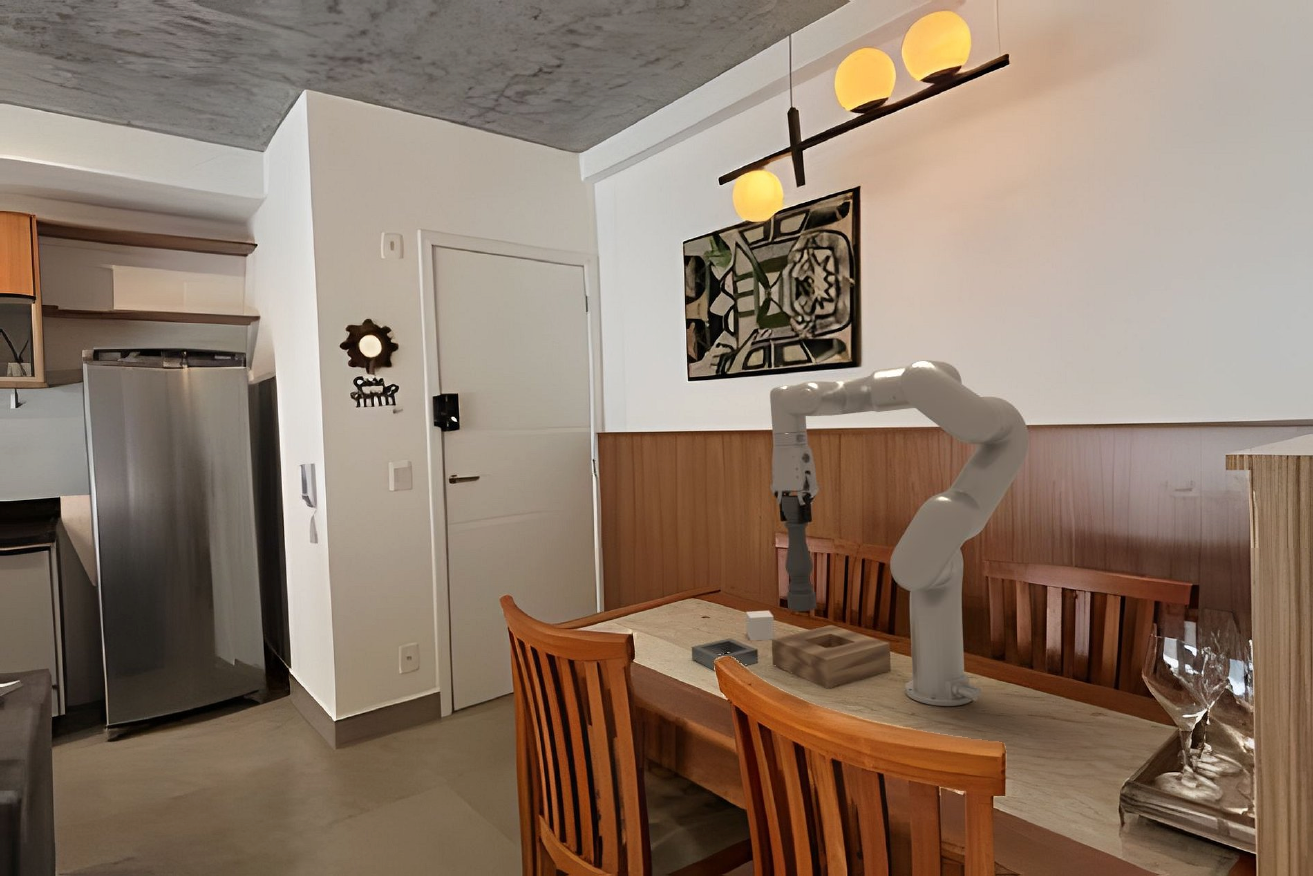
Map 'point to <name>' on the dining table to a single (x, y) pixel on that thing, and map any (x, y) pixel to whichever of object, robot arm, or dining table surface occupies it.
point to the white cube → (760, 625)
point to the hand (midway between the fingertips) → (796, 520)
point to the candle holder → (798, 559)
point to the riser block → (831, 655)
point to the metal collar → (711, 650)
